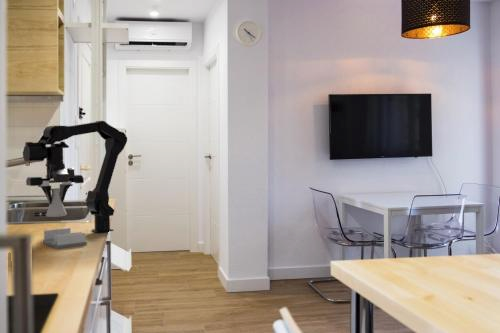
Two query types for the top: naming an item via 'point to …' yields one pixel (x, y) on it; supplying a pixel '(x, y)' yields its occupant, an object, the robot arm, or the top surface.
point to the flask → (56, 205)
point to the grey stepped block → (63, 238)
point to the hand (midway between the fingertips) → (56, 204)
